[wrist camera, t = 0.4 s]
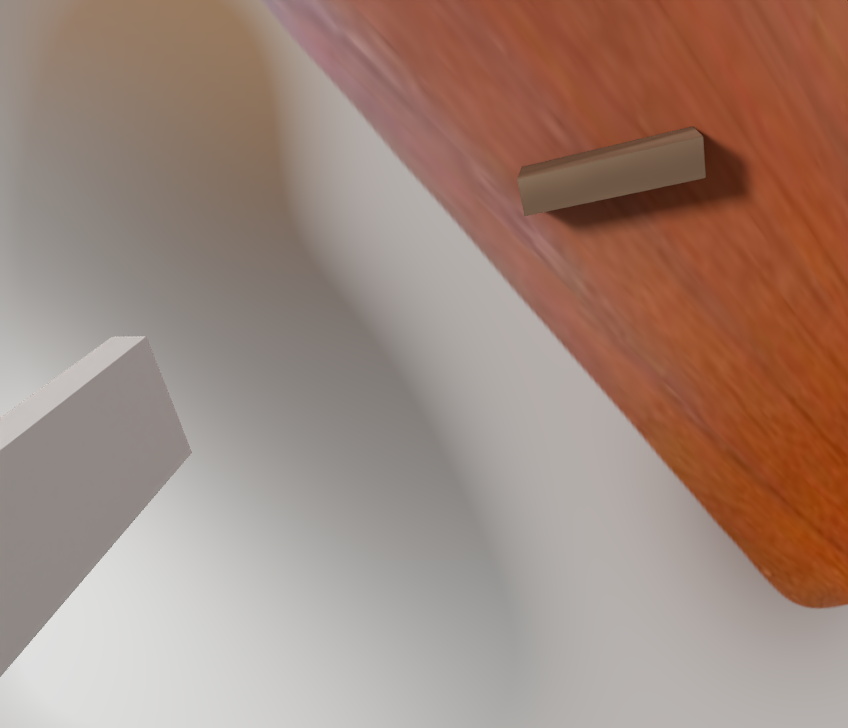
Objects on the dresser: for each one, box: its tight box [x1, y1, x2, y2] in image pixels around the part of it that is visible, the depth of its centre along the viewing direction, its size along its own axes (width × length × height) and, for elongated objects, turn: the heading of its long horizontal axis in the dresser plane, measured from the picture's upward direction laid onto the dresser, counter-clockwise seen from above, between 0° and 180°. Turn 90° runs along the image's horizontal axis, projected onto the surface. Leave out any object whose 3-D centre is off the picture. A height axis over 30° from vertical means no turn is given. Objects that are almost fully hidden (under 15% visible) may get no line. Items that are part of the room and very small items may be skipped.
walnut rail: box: [517, 127, 706, 216], centre depth 32 cm, size 2×9×3 cm, turn 105°
